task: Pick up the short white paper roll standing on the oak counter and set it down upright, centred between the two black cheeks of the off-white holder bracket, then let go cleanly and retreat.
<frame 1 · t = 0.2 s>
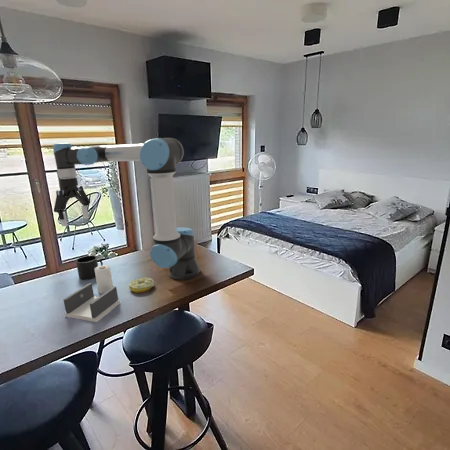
hand: (75, 222, 151), 28 cm above the table, fingers open, 13 cm apart
cradle: (93, 309, 126), on the table
mug: (92, 275, 158), on the table
decorated donut: (142, 289, 142), on the table
roll: (105, 290, 142), on the table
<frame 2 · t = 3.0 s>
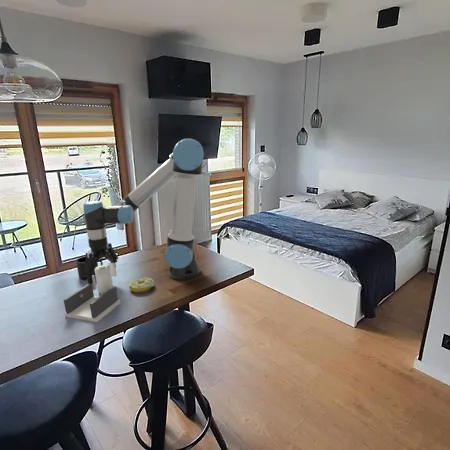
hand: (103, 282, 141), 4 cm above the table, fingers open, 13 cm apart
nothing on the table moved.
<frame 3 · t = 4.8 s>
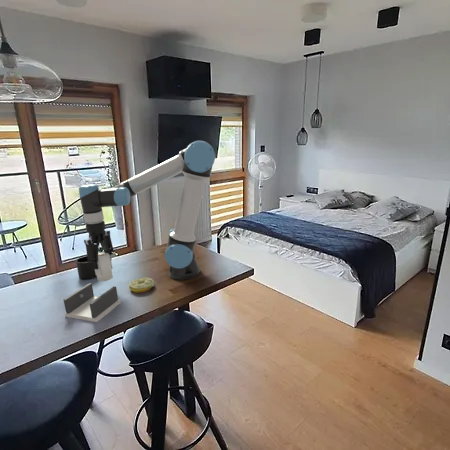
hand: (104, 271, 139), 9 cm above the table, fingers closed on roll, 6 cm apart
roll: (105, 278, 140), point 6 cm above the table, touching gripper
everything else where it was.
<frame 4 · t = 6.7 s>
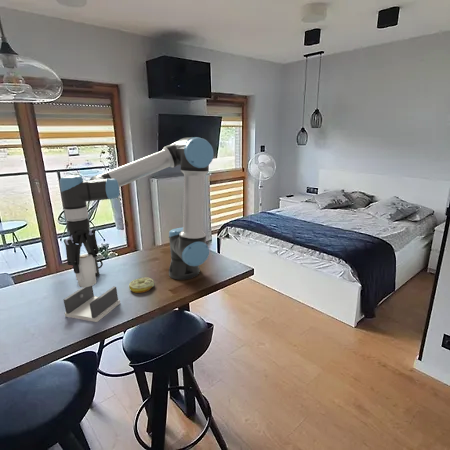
hand: (86, 276, 122), 15 cm above the table, fingers closed on roll, 6 cm apart
roll: (87, 283, 123), point 12 cm above the table, touching gripper
everything else where it was.
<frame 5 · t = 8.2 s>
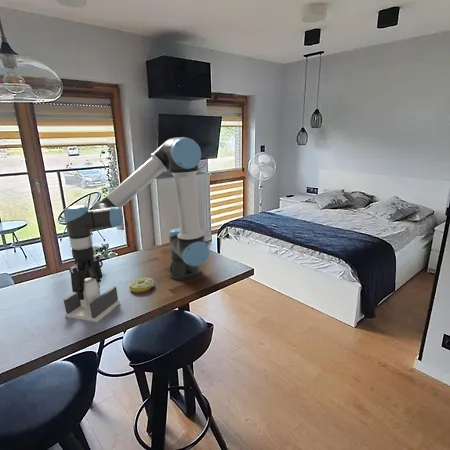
hand: (91, 301, 125), 4 cm above the table, fingers closed on roll, 6 cm apart
roll: (91, 306, 126), point 1 cm above the table, touching cradle, gripper
everything else where it was.
when the fingers open (4 cm above the table, at t = 8.7 s): roll stays where it is, resting on cradle.
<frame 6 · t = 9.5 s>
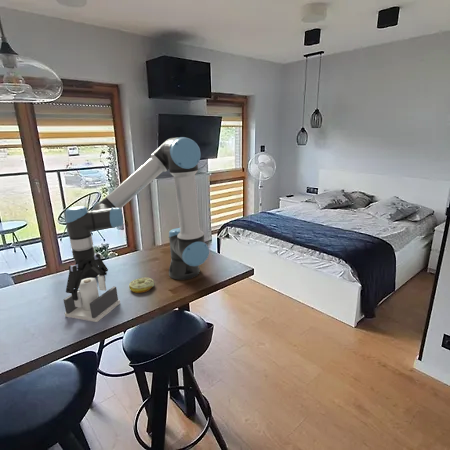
hand: (91, 298, 125), 5 cm above the table, fingers open, 13 cm apart
roll: (91, 306, 126), point 1 cm above the table, touching cradle
everything else where it was.
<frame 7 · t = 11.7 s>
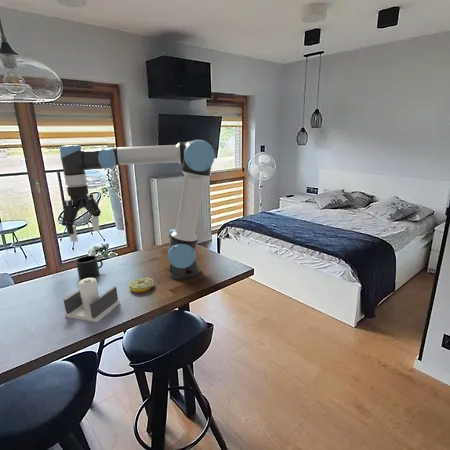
hand: (86, 236, 131), 27 cm above the table, fingers open, 13 cm apart
nothing on the table moved.
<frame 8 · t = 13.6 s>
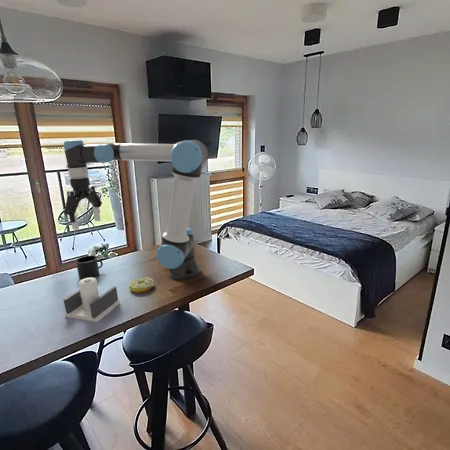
hand: (87, 225, 141), 29 cm above the table, fingers open, 13 cm apart
nothing on the table moved.
at the end: roll inside the target area on the cradle (0.4 cm from its centre), point 1.6 cm above the cradle's base; roll tilted 1°; the gripper is holding nothing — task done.
